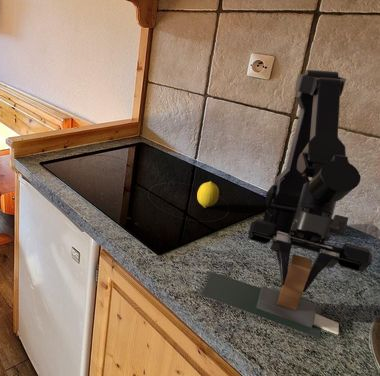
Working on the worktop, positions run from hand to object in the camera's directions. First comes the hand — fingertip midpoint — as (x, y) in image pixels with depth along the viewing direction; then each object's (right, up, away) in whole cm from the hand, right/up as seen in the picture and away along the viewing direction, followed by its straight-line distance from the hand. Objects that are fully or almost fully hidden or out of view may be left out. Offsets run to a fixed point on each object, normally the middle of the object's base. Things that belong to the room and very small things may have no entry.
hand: (293, 288), depth 72 cm
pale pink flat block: (+6, -7, +1) cm, 9 cm away
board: (-3, -5, +6) cm, 8 cm away
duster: (+1, -5, +4) cm, 6 cm away
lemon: (+1, +12, +42) cm, 44 cm away
